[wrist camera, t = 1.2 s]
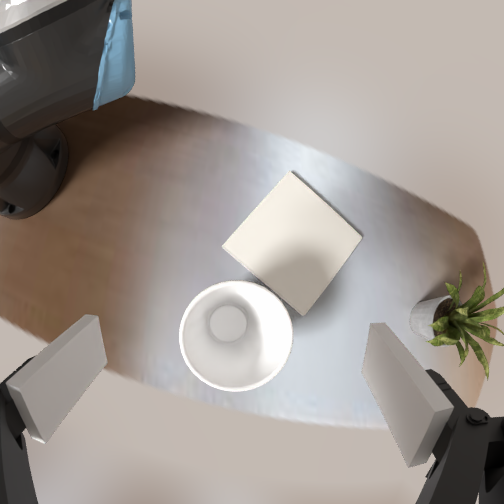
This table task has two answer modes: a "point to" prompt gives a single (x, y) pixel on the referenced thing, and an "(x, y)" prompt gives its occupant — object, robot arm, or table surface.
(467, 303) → the house plant
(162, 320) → the table surface
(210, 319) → the cup
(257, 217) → the placemat
